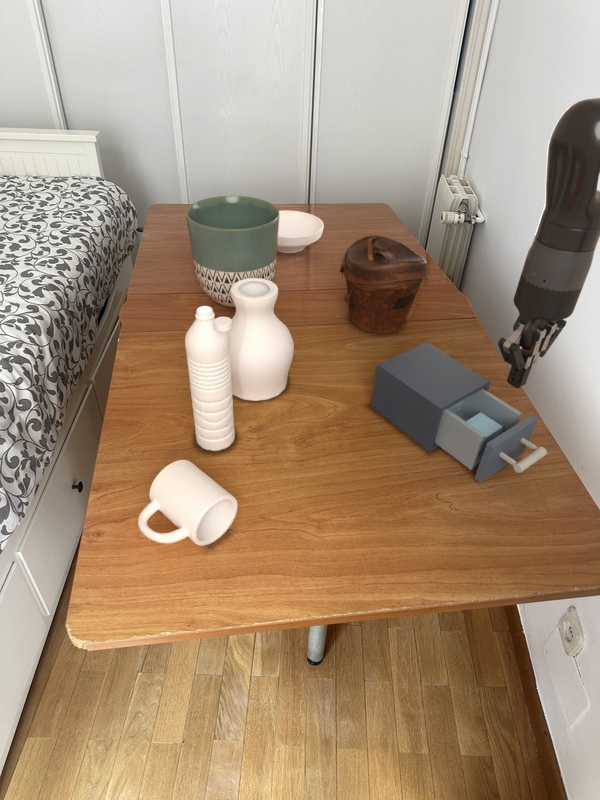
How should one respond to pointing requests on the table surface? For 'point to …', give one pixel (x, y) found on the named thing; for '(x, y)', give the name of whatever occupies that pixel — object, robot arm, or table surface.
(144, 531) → the mug
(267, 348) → the vase
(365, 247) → the case
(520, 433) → the drawer
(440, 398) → the cabinet
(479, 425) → the block
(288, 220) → the bowl
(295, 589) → the table surface
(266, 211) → the planter
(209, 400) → the water bottle
